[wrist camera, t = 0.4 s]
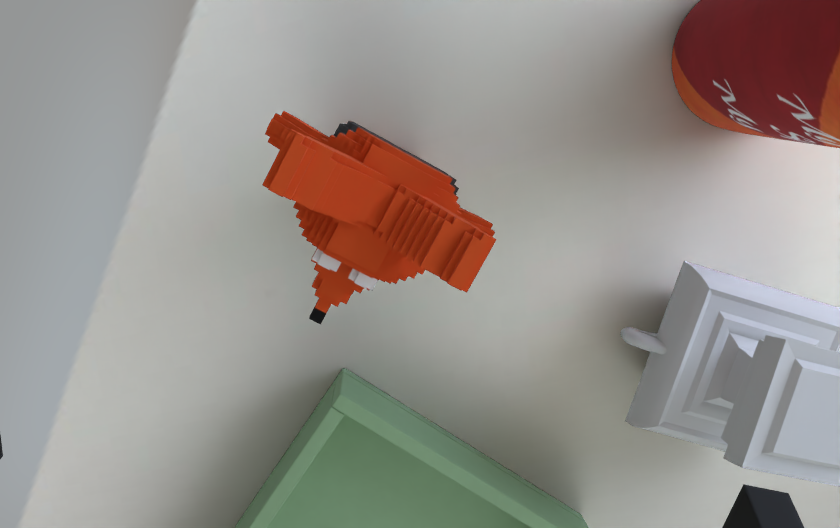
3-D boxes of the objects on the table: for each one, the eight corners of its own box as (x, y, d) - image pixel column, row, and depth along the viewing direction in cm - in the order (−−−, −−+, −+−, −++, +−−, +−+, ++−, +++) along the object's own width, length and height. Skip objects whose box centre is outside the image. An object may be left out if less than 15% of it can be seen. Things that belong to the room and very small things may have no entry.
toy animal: (239, 220, 29) (148, 284, 18) (303, 93, 29) (253, 72, 17) (420, 312, 30) (448, 431, 19) (486, 193, 30) (558, 239, 18)
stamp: (579, 393, 31) (651, 489, 23) (631, 241, 30) (726, 285, 22) (775, 445, 32) (912, 555, 24) (832, 300, 31) (996, 363, 23)
